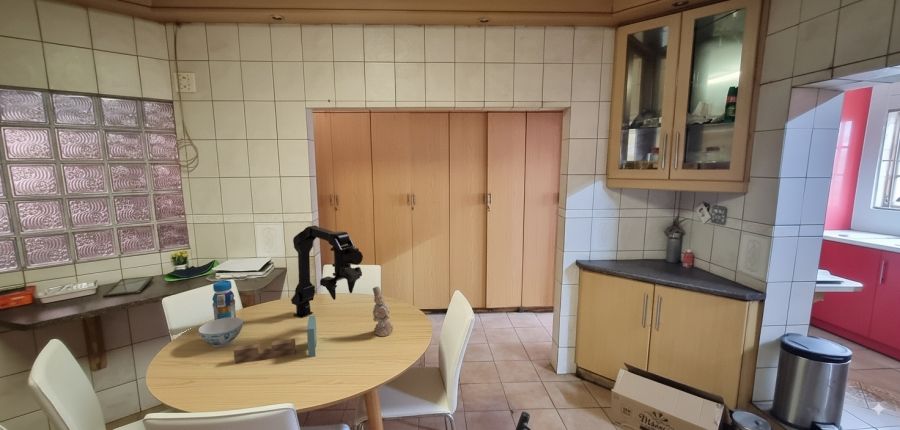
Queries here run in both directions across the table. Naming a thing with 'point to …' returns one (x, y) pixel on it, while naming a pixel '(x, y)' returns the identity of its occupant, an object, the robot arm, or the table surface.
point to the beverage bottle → (223, 300)
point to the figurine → (381, 314)
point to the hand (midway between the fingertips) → (342, 296)
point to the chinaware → (221, 331)
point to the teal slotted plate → (311, 336)
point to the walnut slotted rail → (264, 351)
